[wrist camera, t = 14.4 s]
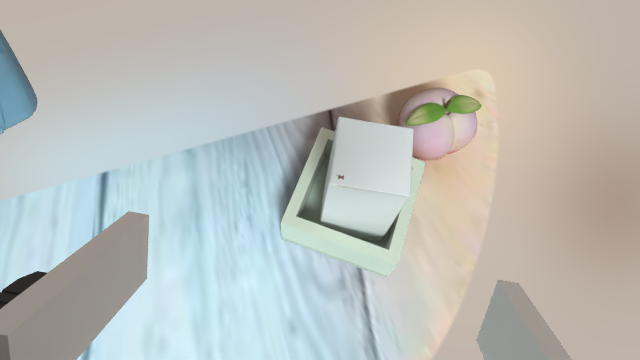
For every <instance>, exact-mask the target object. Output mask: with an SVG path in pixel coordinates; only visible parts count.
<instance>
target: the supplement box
mask: <svg viewBox="0 0 640 360" xmlns="http://www.w3.org/2000/svg"><path fill="white" fill-rule="evenodd" d="M413 132H414V130H413V129H411V128H405V127H399V126H393V125H387V124H381V123H375V122H368V121H363V120H358V119H352V118H347V117H342V116H340V117H339V118H338V121H337V125H336V130H335V135H334V140H333V145H332V150H331V155H330V161H329V166H328V171H327V176H326V181H325V186H324V192H323V198H322V204H321V211H320V220H319V225H321V226H324V227H327V228H330V229H332V230H335V231H338V232H341V233H343V234H346V235H349V236H352V237H355V238H360V239H366V240H372V241H381V240H382V238H383V237H384V235H385V234H386V232H387V231H388V229H389V227H390V226H391V224H392V223H393V221H394V220H395V218H396V216H397V215H398V213H399V212H400V210H401V209H402V207H403V206H404V204H405V203H406V201H407V199H408V198H409V197H410V190H411V173H412V155H413Z"/></svg>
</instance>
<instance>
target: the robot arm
mask: <svg viewBox="0 0 640 360" xmlns="http://www.w3.org/2000/svg"><path fill="white" fill-rule="evenodd" d="M36 107H37V98H36V95H35V93H34V90H33V88H32V86H31V84H30V82H29V80H28V78H27V76H26V75H25V73H24V71H23V69H22V67H21V65H20V64H19V62H18V60H17V58H16V56H15V55H14V53H13V51H12V49H11V47H10V46H9V44H8V42H7V40H6V39H5V37H4V35H3V34H2V32H1V30H0V134H2V133H3V132H4V130H6V129H8V128H10V127H12V126H14V125H16V124H17V123H19V122H22V121H24V120H25V119H27V118H29V117H30V116H31V115H32V114H33V113H34V111H35V110H36ZM148 229H149V215H146V214H140V213H135V212H127V213H126V214H125V215H123V216H122V217H121V218H120V219H118V220H117V221H116V222H114V223H113V224H112V225H110V226H109V227H108V228H106V229H105V230H104V231H102V232H101V233H100V234H98V235H97V236H96V237H95V238H93V239H92V240H91V241H89V242H88V243H87V244H85V245H84V246H83V247H81V248H80V249H79V250H77V251H76V252H75V253H73V254H72V255H71V256H70V257H68V258H67V259H66V260H64V261H63V262H62V263H60V264H59V265H58V266H56V267H55V268H54V269H52V270H51V271H50V272H48V273H45V272H39V271H37V272H34V273H32V274H29V275H27V276H24V277H22V278H20V279H17V280H16V281H15V282H13V283H12V284H10V285H9V286H7V287H6V288H5V289H3V290H2V292H0V360H77V359H78V357H79V356H80V355H81V354H82V353H83V352H84V350H85V349H86V348H87V347H88V346H89V345H90V344H91V342H92V341H93V340H94V339H95V338H96V337H97V335H98V334H99V333H100V332H101V331H102V330H103V328H104V327H105V326H106V325H107V324H108V323H109V322H110V320H111V319H112V318H113V317H114V316H115V315H116V313H117V312H118V311H119V310H120V309H121V308H122V307H123V305H124V304H125V303H126V302H127V301H128V300H129V298H130V297H131V296H132V295H133V294H134V293H135V292H136V290H137V289H138V288H139V287H140V286H141V285H142V283H143V282H144V281H145V280H146V279H147V259H148ZM477 342H478V345H479V347H480V350H481V352H482V354H483V357H484V359H485V360H572V359H571V358H570V356H569V355H568V353H567V352H566V350H565V349H564V348H563V346H562V345H561V343H560V342H559V340H558V339H557V338H556V336H555V335H554V333H553V332H552V331H551V329H550V328H549V326H548V325H547V323H546V322H545V320H544V319H543V318H542V316H541V315H540V313H539V312H538V310H537V309H536V307H535V306H534V305H533V303H532V302H531V300H530V299H529V297H528V296H527V295H526V293H525V292H524V290H523V289H522V287H521V286H520V285H519V284H518V283H514V282H508V281H503V280H498V281H497V284H496V287H495V290H494V293H493V296H492V298H491V301H490V304H489V307H488V309H487V312H486V315H485V318H484V320H483V323H482V326H481V329H480V332H479V334H478V337H477Z"/></svg>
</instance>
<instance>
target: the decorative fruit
mask: <svg viewBox="0 0 640 360" xmlns="http://www.w3.org/2000/svg"><path fill="white" fill-rule="evenodd" d="M480 108H481V104H480V103H479V102H478V101H477V100H475V99H473V98H471V97H469V96H464V95H458V94H457V93H455V92H453V91H451V90H448V89H444V88H432V89H428V90H425V91H422V92H420V93H418V94H416V95H414V96H412V97H411V98H410V99H409V100H408V101H407V102H406V103H405V104H404V106H403V107H402V109H401V111H400V115H399V119H398V126H399V127H405V128H411V129H413V130H414V132H413V155H412V156H413V157H415V158H417V159H421V160H438V159H441V158H442V157H444V156H445V155H446V154H450V153H453V152H456V151H458V150H459V149H461V148H463V147H464V146H466V145H467V144H468V143H469V142H470V141H471V140H472V139H473V138H474V136H475V134H476V131H477V117H476V114H475V111H477V110H479V109H480Z"/></svg>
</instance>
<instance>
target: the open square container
mask: <svg viewBox="0 0 640 360" xmlns="http://www.w3.org/2000/svg"><path fill="white" fill-rule="evenodd" d="M334 135H335V131H332V130H329V129H326V128H323V127H321V129H320V132H319V134H318V136H317V139H316V141H315V143H314V146H313V148H312V150H311V153H310V155H309V157H308V160H307V162H306V164H305V167H304V169H303V171H302V174H301V176H300V179H299V181H298V183H297V186H296V188H295V190H294V193H293V195H292V197H291V200H290V202H289V204H288V207H287V209H286V211H285V214H284V216H283V218H282V221H281V238H282V240H285V241H288V242H291V243H293V244H296V245H299V246H301V247H304V248H307V249H309V250H312V251H315V252H318V253H320V254H323V255H326V256H328V257H331V258H334V259H337V260H339V261H342V262H345V263H347V264H350V265H353V266H356V267H358V268H361V269H364V270H366V271H369V272H372V273H375V274H377V275H380V276H383V277H385V278H386V277H387V276H388V275H389V274H390V273H391V272H392V271H393V270H394V269H395V267H396V266H397V265H398V262H399V258H400V255H401V251H402V247H403V244H404V240H405V236H406V233H407V229H408V225H409V222H410V218H411V214H412V211H413V207H414V204H415V200H416V196H417V193H418V189H419V185H420V182H421V178H422V174H423V171H424V167H425V164H426V162H423V161H420V160H417V159H414V158H412V173H411V190H410V197H409V198H408V199H407V201H406V203H405V204H404V206H403V207H402V209H401V210H400V212H399V213H398V215H397V216H396V218H395V220H394V221H393V223H392V224H391V226H390V227H389V229H388V231H387V232H386V234H385V235H384V237H383V238H382V240H381V241H372V240H366V239H360V238H355V237H352V236H349V235H346V234H343V233H341V232H338V231H335V230H332V229H330V228H327V227H324V226H321V225H319V220H320V211H321V204H322V198H323V192H324V186H325V181H326V176H327V171H328V166H329V161H330V155H331V150H332V145H333V140H334Z"/></svg>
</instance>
